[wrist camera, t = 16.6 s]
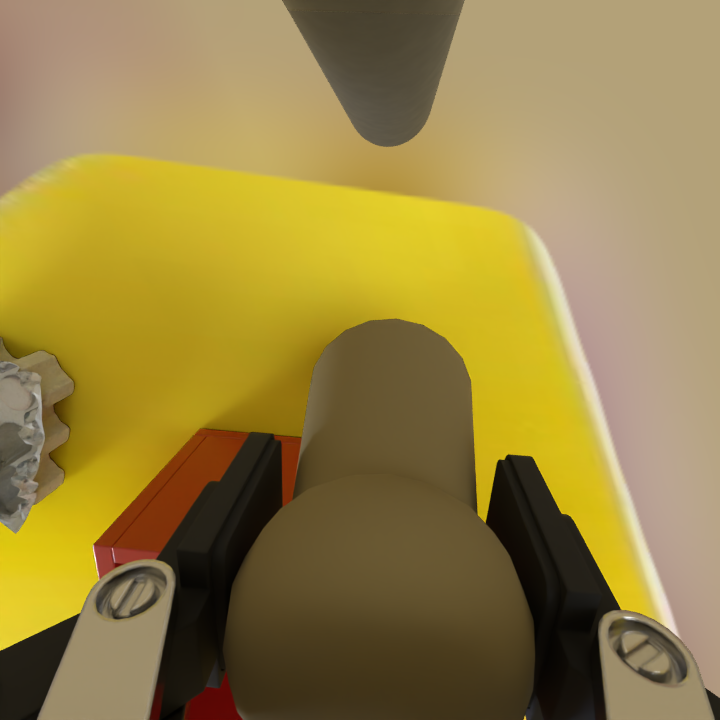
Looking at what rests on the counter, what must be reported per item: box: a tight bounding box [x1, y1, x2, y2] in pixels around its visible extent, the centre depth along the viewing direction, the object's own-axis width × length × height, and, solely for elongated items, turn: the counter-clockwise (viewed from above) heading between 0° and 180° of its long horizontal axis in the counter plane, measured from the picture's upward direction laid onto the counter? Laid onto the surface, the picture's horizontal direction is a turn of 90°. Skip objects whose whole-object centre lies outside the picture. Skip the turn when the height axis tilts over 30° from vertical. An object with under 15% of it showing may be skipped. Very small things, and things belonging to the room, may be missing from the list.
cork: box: [223, 319, 535, 720], centre depth 11 cm, size 6×6×11 cm
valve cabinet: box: [93, 429, 302, 720], centre depth 24 cm, size 15×13×10 cm
